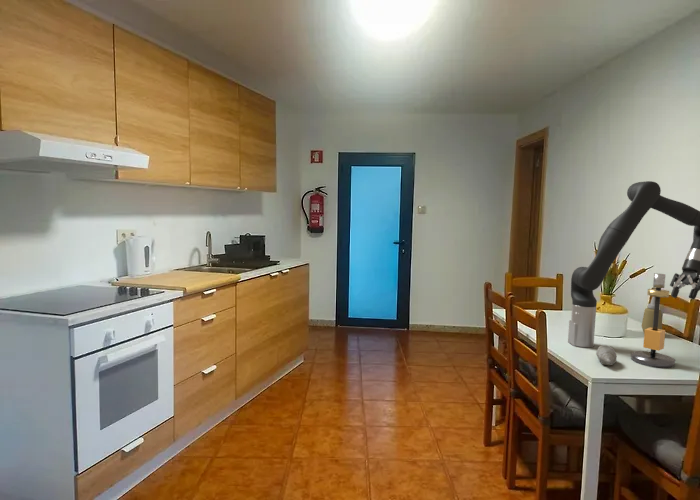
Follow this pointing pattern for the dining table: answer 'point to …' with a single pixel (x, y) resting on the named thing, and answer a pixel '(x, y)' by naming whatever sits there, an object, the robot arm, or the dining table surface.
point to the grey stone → (606, 355)
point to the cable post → (653, 357)
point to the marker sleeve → (654, 339)
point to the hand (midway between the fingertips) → (682, 297)
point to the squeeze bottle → (651, 316)
